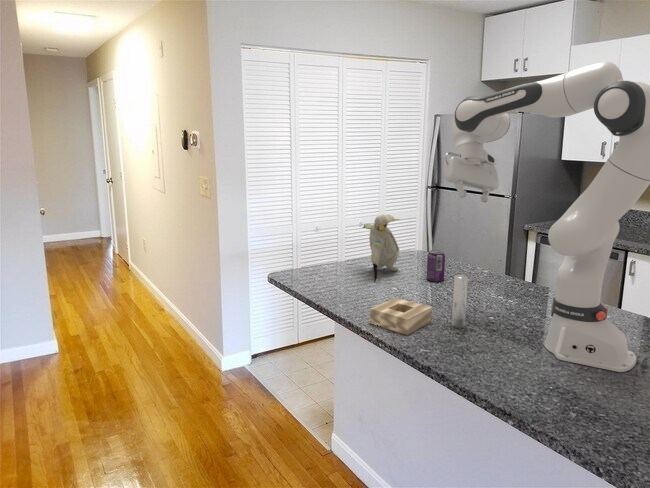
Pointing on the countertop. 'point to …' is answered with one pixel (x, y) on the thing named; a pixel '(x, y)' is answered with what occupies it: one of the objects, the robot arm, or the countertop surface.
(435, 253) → the beverage can
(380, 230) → the figurine
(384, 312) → the socket block
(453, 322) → the pin
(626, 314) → the countertop surface
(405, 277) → the countertop surface
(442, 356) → the countertop surface
